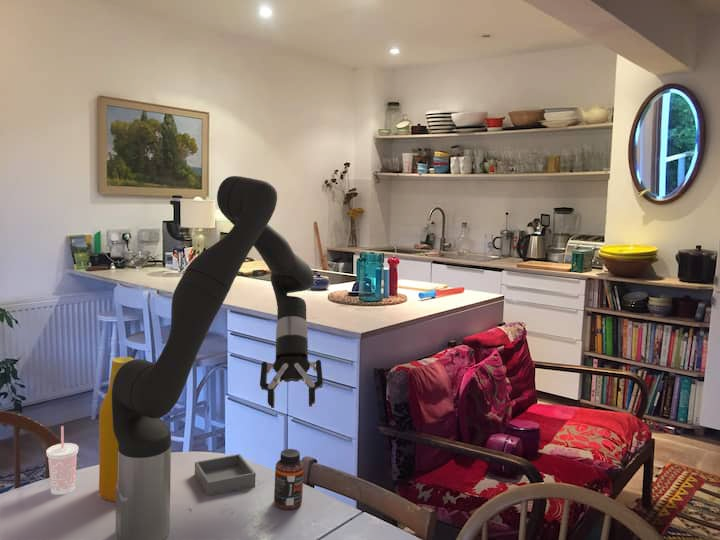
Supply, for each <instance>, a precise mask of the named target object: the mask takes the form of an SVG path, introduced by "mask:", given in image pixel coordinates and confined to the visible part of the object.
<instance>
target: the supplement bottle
mask: <svg viewBox="0 0 720 540" xmlns="http://www.w3.org/2000/svg"><path fill="white" fill-rule="evenodd" d="M274 468H275V471H274V472H275V473H274V489H273V491H274V492H273V493H274V495H273V502H274V505H275V506H276V507H278V508H280V509H284V510H293V509H296V508H298V507H300V505H301V504H302V502H303V492H304V491H303V486H304V472H305V469H304V468H305V466H304V462H303V461H302V460H301V453H300V451H299V450H298V449H293V448H286V449H283V450H282V451H280V459H278V460H277V462H276V463H275V467H274Z"/></svg>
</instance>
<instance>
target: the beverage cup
mask: <svg viewBox="0 0 720 540" xmlns="http://www.w3.org/2000/svg"><path fill="white" fill-rule="evenodd" d="M64 429H65V428H64V425H61V427H60V440H61V441H60V443H57V444H54V445H51V446H50V447H48V448H47V449H46V457H47V460H48V470H49V471H48V472H49V483H50V492H51V494H52V495H66V494H69V493H71V492H73V491H74V490H75V488H76V474H77V459H78V452H79V444H78V445H77V444H76V443H71V442H65V440H64V439H65V436H64V435H65V434H64V431H65V430H64Z"/></svg>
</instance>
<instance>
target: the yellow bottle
mask: <svg viewBox="0 0 720 540" xmlns="http://www.w3.org/2000/svg"><path fill="white" fill-rule="evenodd" d="M131 360H135V358H133V357H130V356H122V357H121V356H120V357H115V358H113V359H112V361H111V368H110V376H109V384H108V385H109V386H108V390H107V392H106V394H105V395H104V398H103V400H102V401H101V404H100V409H99V414H98V418H99V419H98V421H99V422H98V423H99V424H98V425H99V427H98V432H99V436H98V438H99V439H98V442H99V444H98V445H99V447H98V448H99V449H98V450H99V451H98V452H99V453H98V454H99V456H98V457H99V459H98V460H99V461H98V463H99V467H98V469H99V474H98V475H99V477H98V481H99V482H98V490H99V495H100V496H101V498H102V499H104V500H106V501H109V502H116V484H118V442H117V439H116V437H115V434H114V431H113V416H112V385H113V381H114V378H115V376H116V373H117V372H118V370H119V369H120V368H121V367H122V366H123V365H124V364H125V363H127V362H128V361H131Z"/></svg>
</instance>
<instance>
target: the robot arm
mask: <svg viewBox="0 0 720 540" xmlns="http://www.w3.org/2000/svg"><path fill="white" fill-rule="evenodd" d="M216 201H217V206H218V209H219V211H220V212H221V214H222V215H223V216H224V217H225V218H226V219H227V220H228V221H229V223H231V224H232V225H233V226H232V227H231V229H230V231H228V233H227V234H226V235H225V236H224V237H222V238H221V239H220V240H219V241H217V242H215V243H213V245H211V246H210V247H208V248H207V249H205V250H204V251H202V252H201V253H200V254H198V255H197V256H196V257H195V258H194V259H192V260H191V261H190V263H189V264H188V266H187V267H186V269H185V270H184V273H183V274H182V276H181V278H180V280H179V281H178V283H177V285H176V287H175V289H174V292H173V295H172V299H171V309H170V310H171V311H170V312H171V313H170V315H171V316H170V331H169V335H168V338H167V341H166V343H165V346H164V348H162V351H161V353H160V354H159V357H158V358H157V360H156V361H155V362H153V361H148V360H146V359H141V358H140V359H139V358H134V360H131V361H128V362H127V363H125V364H124V365H123V366H122V367H121V368H120V369H119V370H118V372H117V373H116V376H115V378H114V381H113V385H112V416H113V431H114V434H115V437H116V439H117V442H118V484H116V501H115V534H116V537H117V539H118V540H165V539H166V538H167V537H168V535H169V534H170V530H171V529H170V528H171V471H172V470H171V467H172V466H171V465H172V464H171V462H172V461H171V460H172V455H171V454H172V433H171V430H170V428H169V427H168V426H167V424H165V423H164V421H163V419H162V417H165V416H166V415H167V414H169V412H171V411H172V410H173V408H174V407H175V405H177V404H178V400H179V399H180V397H181V395H182V393H183V390H184V389H185V386H186V383H187V381H188V378H189V375H190V373H191V370H192V369H193V365H194V363H195V360H196V358H197V356H198V353H199V351H200V349H201V346H202V345H203V342H204V340H205V338H206V336H207V334H208V332H209V329H210V328H211V325H212V324H213V322H214V320H215V318H216V316H217V314H218V313H219V311H220V309H221V307H222V306H223V304H224V302H225V300H226V298H227V296H228V294H229V292H230V290H231V288H232V287H233V286H232V285H233V283H234V281H235V280H236V277H237V275H238V273H239V272H240V270H241V268H242V266H243V264H244V262H245V260H246V259H247V258H248V255H249V253H250V251H251V250H252V249H253V247H254V248H255V249H256V251H257V252H258V254H259V256H261V258H262V260H263V261H264V263H265V264H266V266H267V268H268V270H269V271H271V274H270V282H271V287H272V289H273V293H274V296H275V300H276V306H277V307H276V309H277V310H276V311H277V312H276V313H277V323H276V328H275V329H276V330H275V360H274V362H273V363H267V362H266V361H263V362H261V367H260V368H261V369H260V378H259V387H260V389H261V390H262V391H267V404H268V406H269V407H270V408H271V409H274V408H275V398H276V397H275V396H276V395H275V390H276V389H277V388H278V386H279V385H280V384H281V383H283V381H284V382H285V383H289V382H297V383H299V381H302V383H304V384H305V385H306V387H307V388H308V407H310V408H311V407H313V405H315V403H316V390H317V389H321V388H323V385H324V383H323V381H324V380H323V369H322V361H321V360H319V359H316V361H310V360H309V351H308V350H309V348H308V347H309V345H308V344H309V343H308V341H309V335H308V334H309V333H308V325H307V303H306V301H305V299H303V298H302V297H299V296H294V295H288V294H293V293H297V292H298V293H299V292H305V291H308V290H310V288H311V287H312V286H313V284H314V278H315V277H314V273H313V271H312V268H311V267H310V265H309V264H308V263H307V262H306V260H304V259H302V258H301V257H300V256H299V255H297V254H296V253H294V251H293V249H292V247H291V245H290V244H289V241H288V240H287V239H286V237H285V235H283V234H282V233H281V232H280V231H279V230H277V229H276V228H275V227H274V226H272V225H271V224H270V223H269V222H270V221H271V219H272V216H273V214H274V212H275V210H276V207H277V202H278V192H277V188H276V187H275V185H274V184H272V183H271V182H269V181H265V180H262V179H261V180H260V179H256V178H250V177H246V176H239V175H232V176H228V177H226V178H225V179H223V181H222V182H221V183H220V184H219V187H218V190H217V194H216ZM310 368H311V369H312V371H313V372H315V373H316V381H313V380H312V379H311V378H310V376H309V374H307V373H308V371H309V370H310ZM273 369H274V371H275V375H273V378H272V380H271V381H270V382H269V383H267V382H268V374H270V373H271V371H272V370H273Z"/></svg>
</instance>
